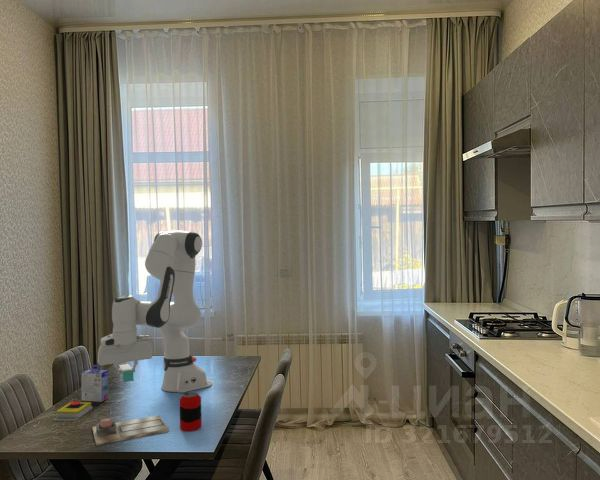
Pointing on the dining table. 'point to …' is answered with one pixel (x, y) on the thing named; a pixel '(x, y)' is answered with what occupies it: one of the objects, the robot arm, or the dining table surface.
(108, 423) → the button
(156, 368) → the dining table surface
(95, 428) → the board
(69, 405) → the emergency button
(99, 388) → the ink cartridge box
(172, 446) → the dining table surface
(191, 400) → the soda can
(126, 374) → the marker
